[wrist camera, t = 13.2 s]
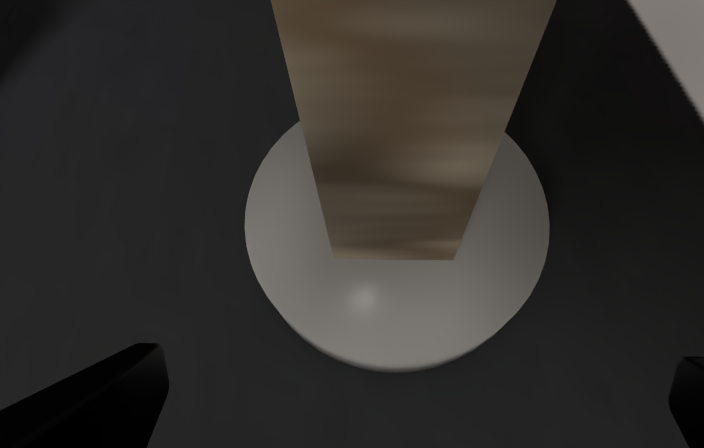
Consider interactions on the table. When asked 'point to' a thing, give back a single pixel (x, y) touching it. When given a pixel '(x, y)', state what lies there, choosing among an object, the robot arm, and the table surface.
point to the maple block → (405, 112)
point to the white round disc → (395, 267)
